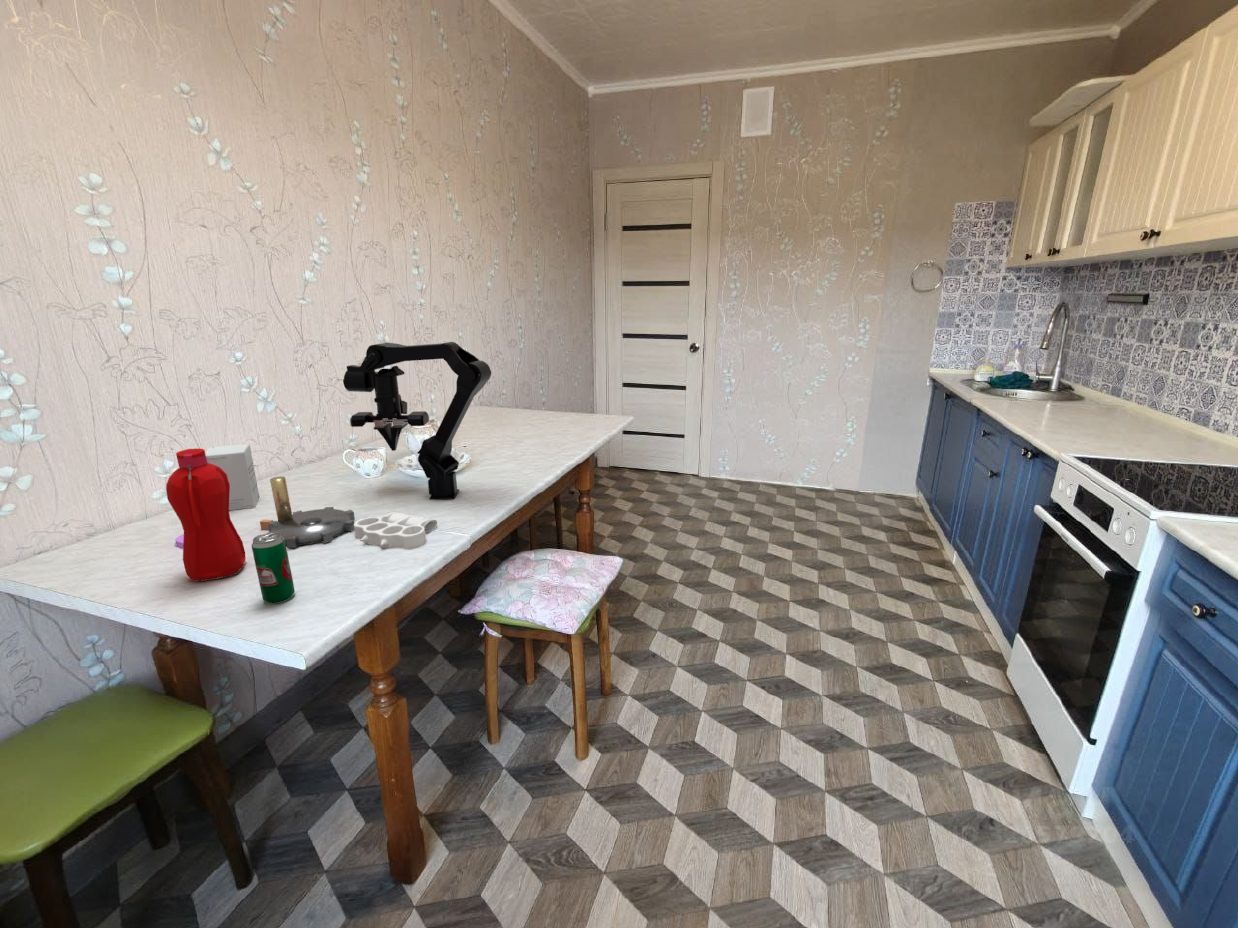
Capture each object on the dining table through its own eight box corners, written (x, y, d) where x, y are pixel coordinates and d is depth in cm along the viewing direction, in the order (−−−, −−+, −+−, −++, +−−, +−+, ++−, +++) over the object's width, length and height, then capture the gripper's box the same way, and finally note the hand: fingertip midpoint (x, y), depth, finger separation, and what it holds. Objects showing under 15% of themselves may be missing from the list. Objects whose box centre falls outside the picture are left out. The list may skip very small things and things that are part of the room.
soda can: (256, 601, 102) (243, 540, 98) (281, 588, 106) (269, 529, 103) (277, 607, 100) (264, 544, 96) (301, 593, 104) (290, 533, 101)
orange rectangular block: (274, 527, 133) (272, 520, 132) (270, 529, 132) (269, 522, 131) (265, 527, 133) (263, 519, 132) (261, 529, 132) (259, 521, 131)
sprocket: (337, 508, 143) (330, 463, 140) (370, 529, 131) (363, 480, 128) (254, 530, 130) (244, 481, 127) (282, 555, 118) (271, 501, 115)
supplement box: (213, 513, 142) (200, 455, 137) (220, 501, 149) (208, 446, 145) (255, 507, 145) (244, 451, 141) (260, 496, 153) (249, 442, 148)
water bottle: (181, 591, 105) (148, 462, 98) (196, 565, 115) (167, 446, 107) (239, 581, 109) (211, 456, 101) (249, 557, 118) (224, 441, 111)
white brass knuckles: (448, 531, 132) (403, 557, 119) (389, 519, 139) (340, 543, 126) (447, 517, 131) (401, 543, 118) (387, 506, 138) (337, 529, 125)
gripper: (431, 387, 155) (437, 442, 160) (362, 387, 155) (369, 443, 159) (420, 394, 145) (426, 453, 150) (345, 395, 144) (354, 454, 149)
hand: (394, 450), depth 152 cm, fingers closed
